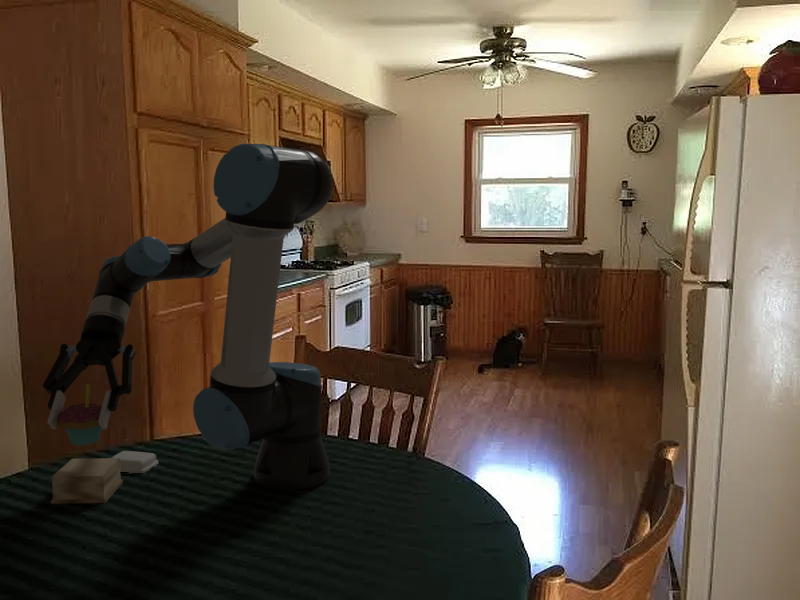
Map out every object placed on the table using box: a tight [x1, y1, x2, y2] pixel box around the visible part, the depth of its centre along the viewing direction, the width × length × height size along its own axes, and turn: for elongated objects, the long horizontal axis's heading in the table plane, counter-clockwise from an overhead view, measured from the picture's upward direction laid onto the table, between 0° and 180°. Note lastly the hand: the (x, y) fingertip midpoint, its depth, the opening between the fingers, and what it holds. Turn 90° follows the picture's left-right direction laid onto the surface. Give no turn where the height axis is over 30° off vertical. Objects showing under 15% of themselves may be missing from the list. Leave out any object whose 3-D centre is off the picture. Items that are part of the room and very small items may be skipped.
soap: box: [111, 450, 159, 474], centre depth 141 cm, size 9×7×3 cm
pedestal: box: [50, 457, 124, 505], centre depth 128 cm, size 10×10×5 cm
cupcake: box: [58, 379, 103, 446], centre depth 126 cm, size 9×8×12 cm
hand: (77, 425), depth 123 cm, fingers closed on cupcake, 8 cm apart
